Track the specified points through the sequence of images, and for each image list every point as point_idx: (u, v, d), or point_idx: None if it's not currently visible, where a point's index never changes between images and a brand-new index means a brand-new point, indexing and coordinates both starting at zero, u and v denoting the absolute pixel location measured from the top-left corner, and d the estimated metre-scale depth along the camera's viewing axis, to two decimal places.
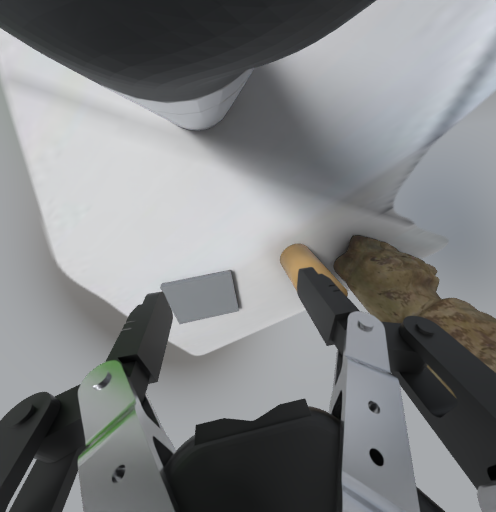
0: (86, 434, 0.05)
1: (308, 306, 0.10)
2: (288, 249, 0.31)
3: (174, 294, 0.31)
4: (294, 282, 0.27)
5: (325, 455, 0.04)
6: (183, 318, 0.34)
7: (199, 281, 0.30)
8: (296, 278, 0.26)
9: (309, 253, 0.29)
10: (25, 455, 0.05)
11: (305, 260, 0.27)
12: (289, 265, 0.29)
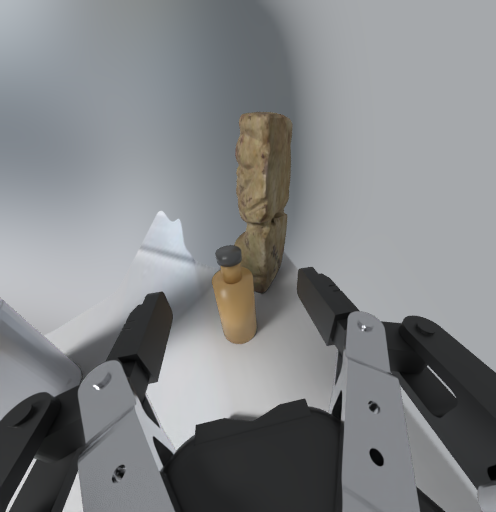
0: (86, 434, 0.05)
1: (308, 306, 0.10)
2: (224, 333, 0.29)
3: None
4: (231, 316, 0.24)
5: (325, 455, 0.04)
6: None
7: None
8: (225, 313, 0.24)
9: None
10: (25, 455, 0.05)
11: None
12: (226, 326, 0.26)
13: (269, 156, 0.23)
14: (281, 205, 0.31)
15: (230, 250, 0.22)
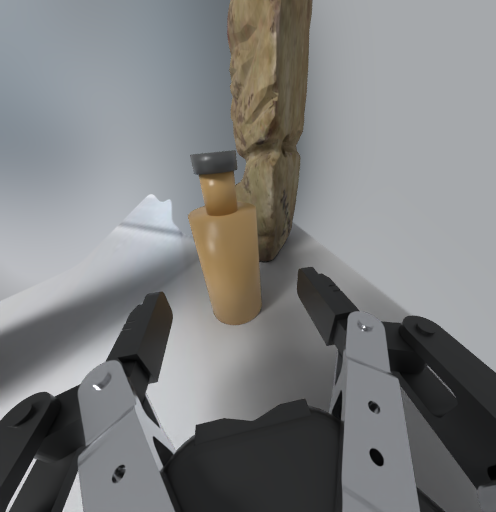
0: (86, 433, 0.05)
1: (308, 306, 0.10)
2: (213, 310, 0.19)
3: None
4: (220, 273, 0.15)
5: (325, 455, 0.04)
6: None
7: None
8: (211, 271, 0.15)
9: None
10: (25, 455, 0.05)
11: None
12: (215, 295, 0.17)
13: None
14: (295, 128, 0.22)
15: None
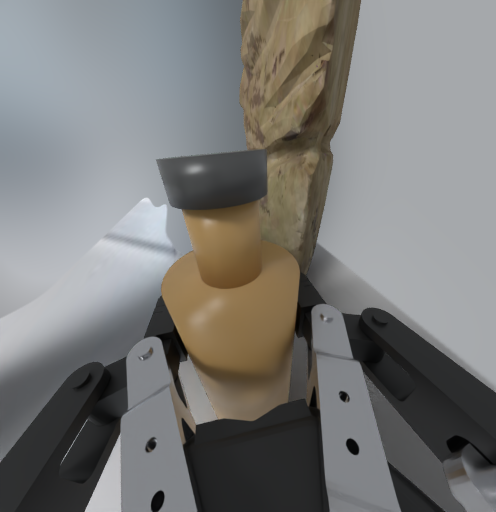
0: (129, 397, 0.05)
1: None
2: None
3: None
4: (227, 391, 0.07)
5: (308, 459, 0.04)
6: None
7: None
8: (208, 382, 0.08)
9: None
10: (79, 418, 0.05)
11: None
12: (216, 407, 0.09)
13: None
14: (337, 117, 0.14)
15: None
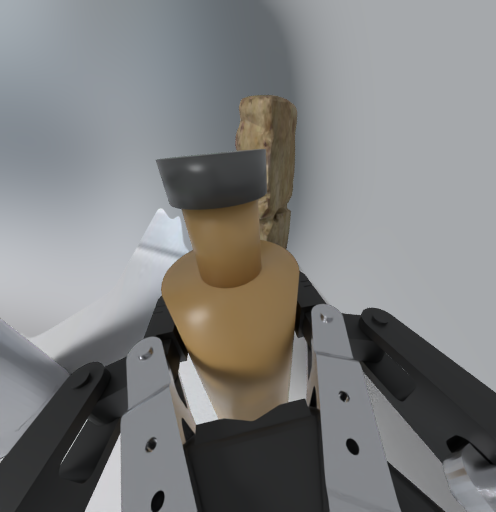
0: (129, 397, 0.05)
1: None
2: None
3: None
4: (227, 390, 0.08)
5: (308, 459, 0.04)
6: None
7: None
8: (208, 381, 0.08)
9: None
10: (79, 418, 0.05)
11: None
12: (216, 406, 0.09)
13: (272, 144, 0.21)
14: (284, 200, 0.29)
15: None
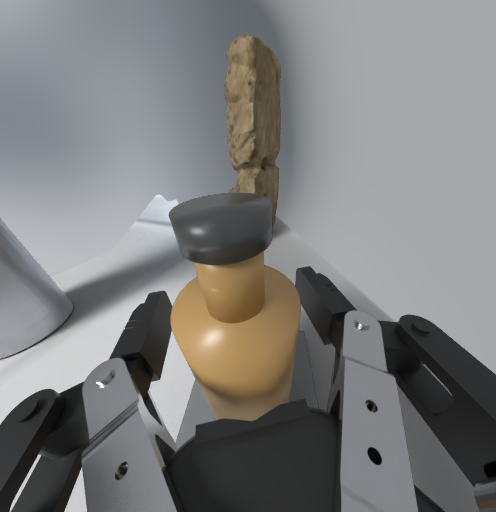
0: (90, 429, 0.05)
1: (306, 305, 0.10)
2: None
3: None
4: (231, 413, 0.08)
5: (324, 455, 0.04)
6: None
7: (197, 385, 0.15)
8: (214, 404, 0.08)
9: None
10: (30, 451, 0.05)
11: None
12: None
13: (255, 83, 0.23)
14: (271, 151, 0.32)
15: (229, 202, 0.06)
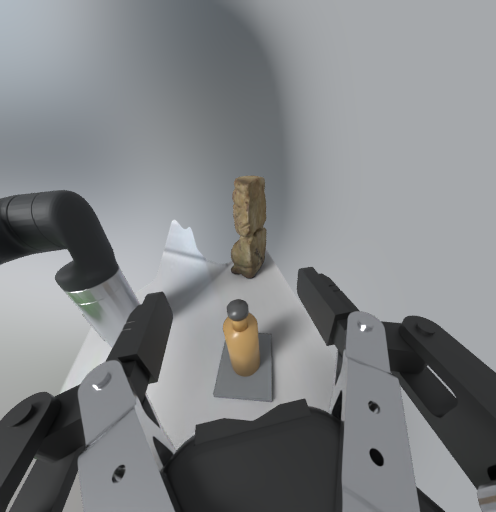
0: (86, 433, 0.05)
1: (308, 306, 0.10)
2: (232, 365, 0.33)
3: (227, 384, 0.31)
4: (238, 357, 0.29)
5: (325, 455, 0.04)
6: (263, 390, 0.30)
7: (223, 356, 0.36)
8: (233, 354, 0.29)
9: None
10: (25, 455, 0.05)
11: None
12: (234, 363, 0.31)
13: (249, 202, 0.44)
14: (260, 224, 0.52)
15: (239, 305, 0.27)
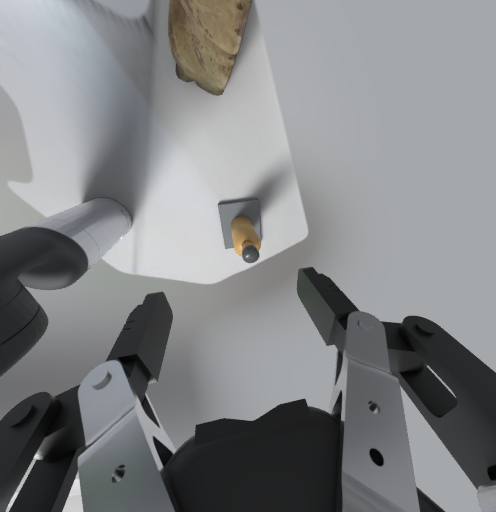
0: (86, 433, 0.05)
1: (308, 306, 0.10)
2: None
3: (232, 242, 0.48)
4: None
5: (325, 455, 0.04)
6: None
7: (223, 226, 0.45)
8: None
9: (231, 228, 0.42)
10: (25, 455, 0.05)
11: None
12: None
13: (250, 2, 0.12)
14: None
15: (252, 254, 0.33)
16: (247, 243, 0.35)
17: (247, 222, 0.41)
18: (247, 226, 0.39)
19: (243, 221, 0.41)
